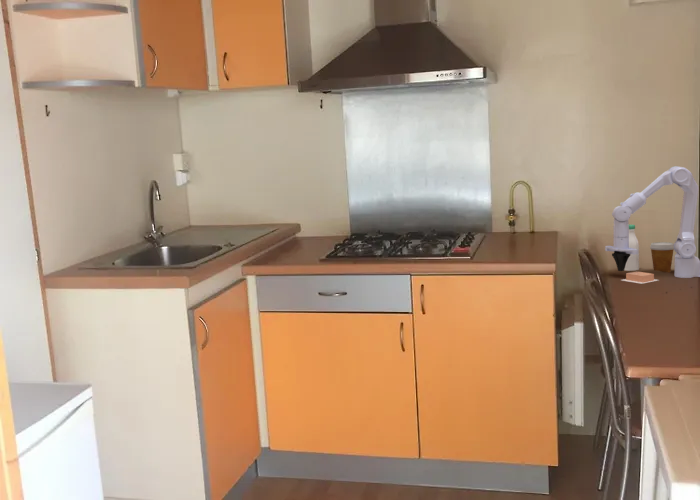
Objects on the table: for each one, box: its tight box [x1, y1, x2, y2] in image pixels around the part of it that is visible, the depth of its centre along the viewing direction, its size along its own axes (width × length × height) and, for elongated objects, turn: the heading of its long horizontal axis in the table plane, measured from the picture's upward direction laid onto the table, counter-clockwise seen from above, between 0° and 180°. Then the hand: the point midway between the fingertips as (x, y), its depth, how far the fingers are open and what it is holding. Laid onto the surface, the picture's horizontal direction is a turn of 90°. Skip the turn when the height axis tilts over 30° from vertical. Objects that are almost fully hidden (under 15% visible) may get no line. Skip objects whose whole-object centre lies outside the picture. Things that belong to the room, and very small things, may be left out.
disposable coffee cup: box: [649, 241, 675, 274], centre depth 309 cm, size 10×10×12 cm
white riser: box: [621, 278, 659, 284], centre depth 289 cm, size 10×10×2 cm
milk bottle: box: [624, 224, 640, 272], centre depth 312 cm, size 8×8×20 cm
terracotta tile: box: [625, 270, 655, 283], centre depth 289 cm, size 6×8×2 cm
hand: (621, 270), depth 296 cm, fingers closed
